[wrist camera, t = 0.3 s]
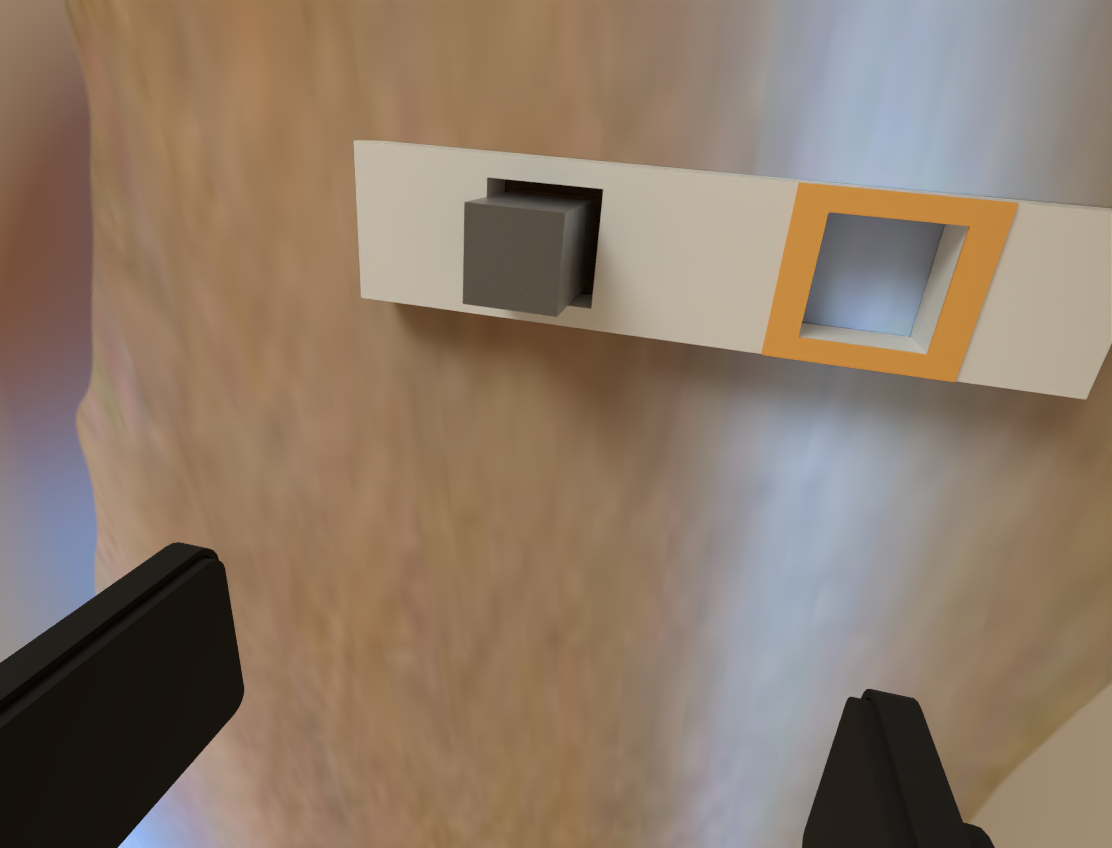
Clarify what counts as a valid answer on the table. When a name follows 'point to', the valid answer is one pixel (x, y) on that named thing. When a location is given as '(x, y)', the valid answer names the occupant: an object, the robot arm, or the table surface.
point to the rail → (763, 263)
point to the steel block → (527, 250)
